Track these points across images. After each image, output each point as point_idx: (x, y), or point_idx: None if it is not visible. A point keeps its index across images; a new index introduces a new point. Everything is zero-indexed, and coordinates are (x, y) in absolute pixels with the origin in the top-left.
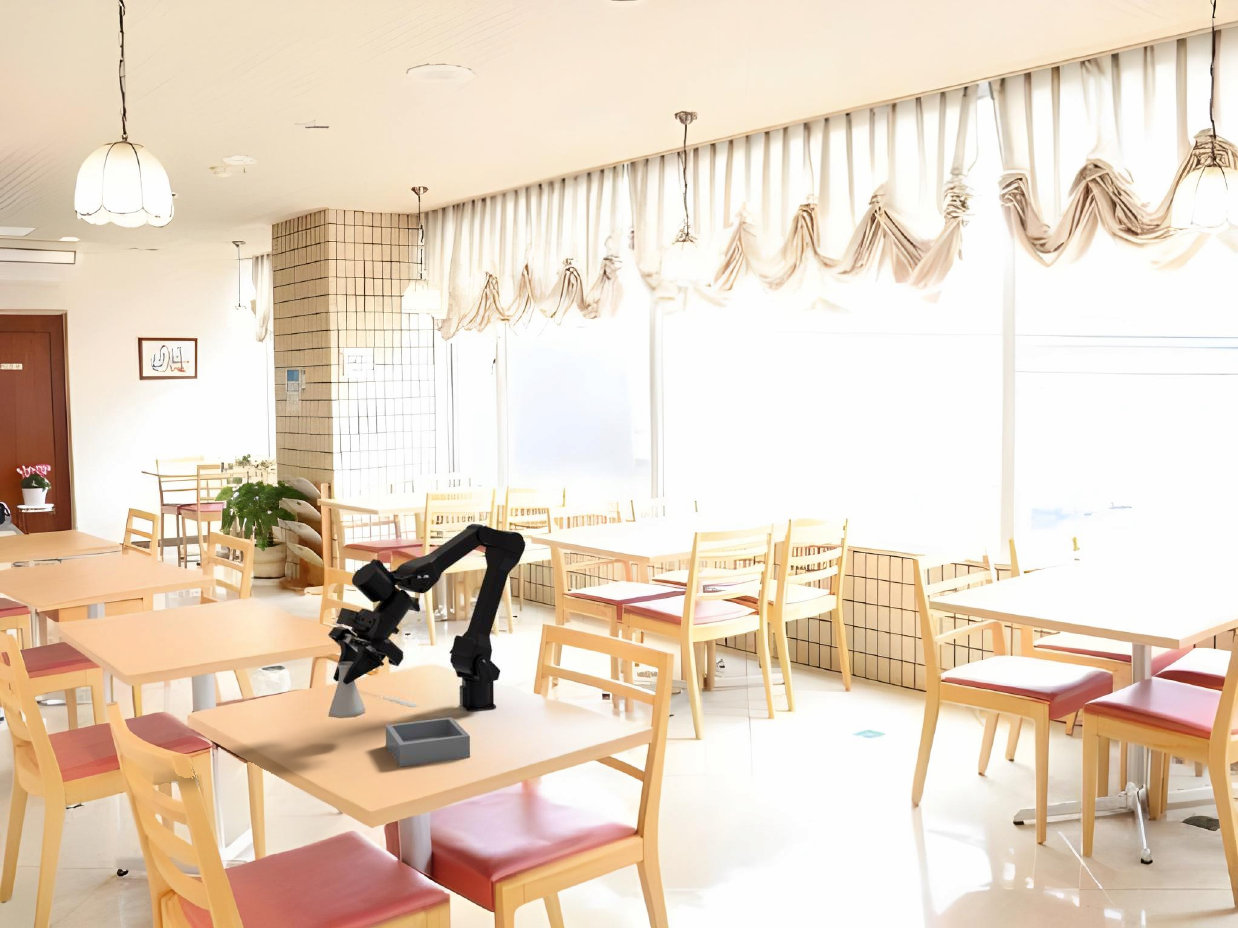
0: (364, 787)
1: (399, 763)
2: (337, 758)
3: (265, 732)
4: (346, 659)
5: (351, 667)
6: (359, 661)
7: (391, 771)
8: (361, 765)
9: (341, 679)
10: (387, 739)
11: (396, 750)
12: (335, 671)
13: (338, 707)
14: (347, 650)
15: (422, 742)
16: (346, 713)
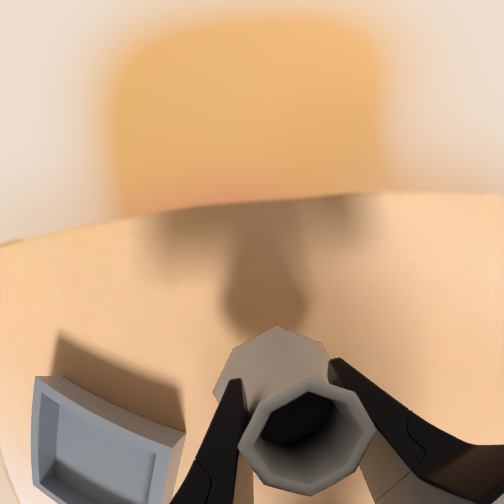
0: (32, 278)
1: (63, 378)
2: (170, 310)
3: (428, 247)
4: (390, 464)
5: (223, 448)
6: (172, 500)
7: (53, 350)
8: (104, 328)
9: (276, 384)
10: (161, 431)
11: (72, 390)
12: (362, 376)
13: (249, 350)
14: (428, 495)
15: (32, 416)
16: (226, 369)
